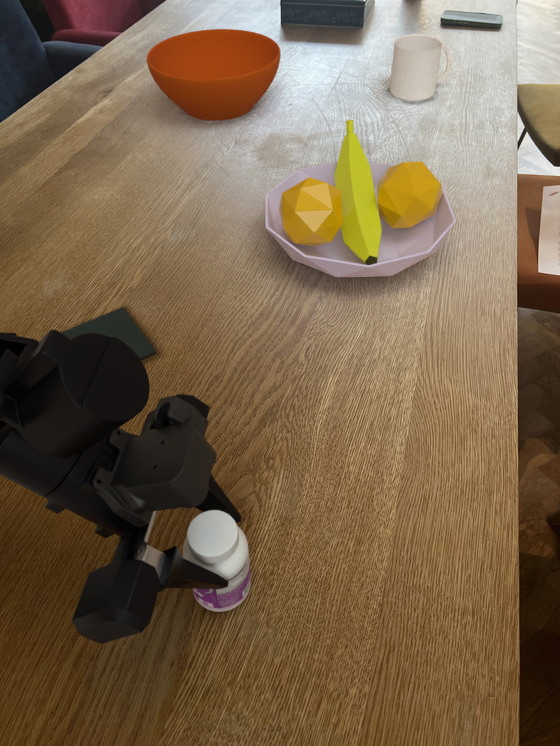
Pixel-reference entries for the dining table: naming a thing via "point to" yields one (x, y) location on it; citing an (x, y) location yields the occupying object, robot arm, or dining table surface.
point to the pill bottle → (219, 558)
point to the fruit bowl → (359, 214)
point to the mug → (417, 66)
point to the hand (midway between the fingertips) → (232, 552)
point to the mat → (116, 331)
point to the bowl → (215, 71)
